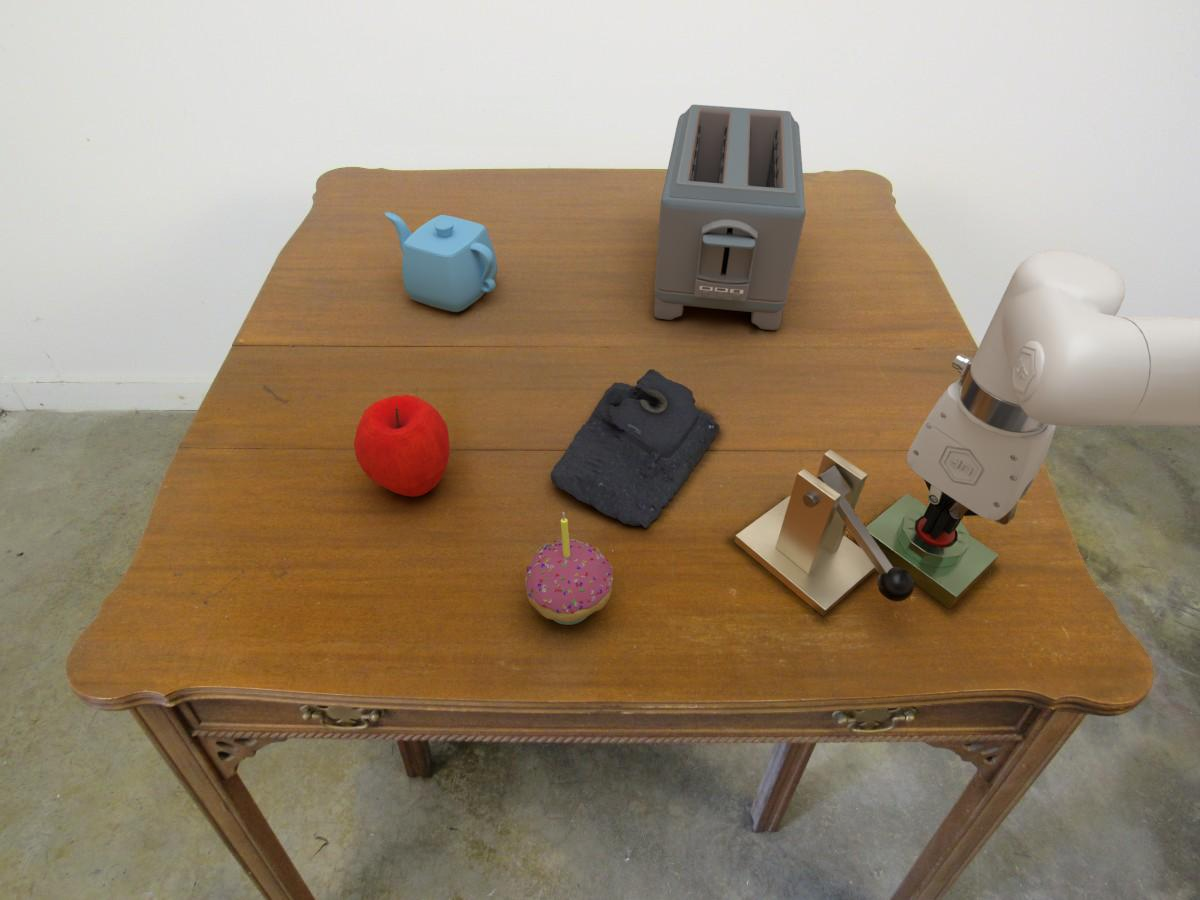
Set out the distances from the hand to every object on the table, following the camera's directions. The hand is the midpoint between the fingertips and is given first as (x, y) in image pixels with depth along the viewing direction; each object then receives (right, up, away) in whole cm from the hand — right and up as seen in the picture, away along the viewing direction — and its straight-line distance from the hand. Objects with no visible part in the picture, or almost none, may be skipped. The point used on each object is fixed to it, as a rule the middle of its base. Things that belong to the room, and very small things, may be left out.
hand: (936, 528), depth 76 cm
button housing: (0, -3, +3) cm, 4 cm away
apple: (-56, +4, +9) cm, 57 cm away
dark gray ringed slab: (-31, +8, +13) cm, 34 cm away
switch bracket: (-13, -3, +3) cm, 13 cm away
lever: (-10, -1, -4) cm, 11 cm away
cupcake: (-38, -8, -2) cm, 38 cm away
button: (0, -1, +1) cm, 2 cm away
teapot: (-58, +32, +37) cm, 76 cm away
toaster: (-16, +35, +40) cm, 56 cm away
